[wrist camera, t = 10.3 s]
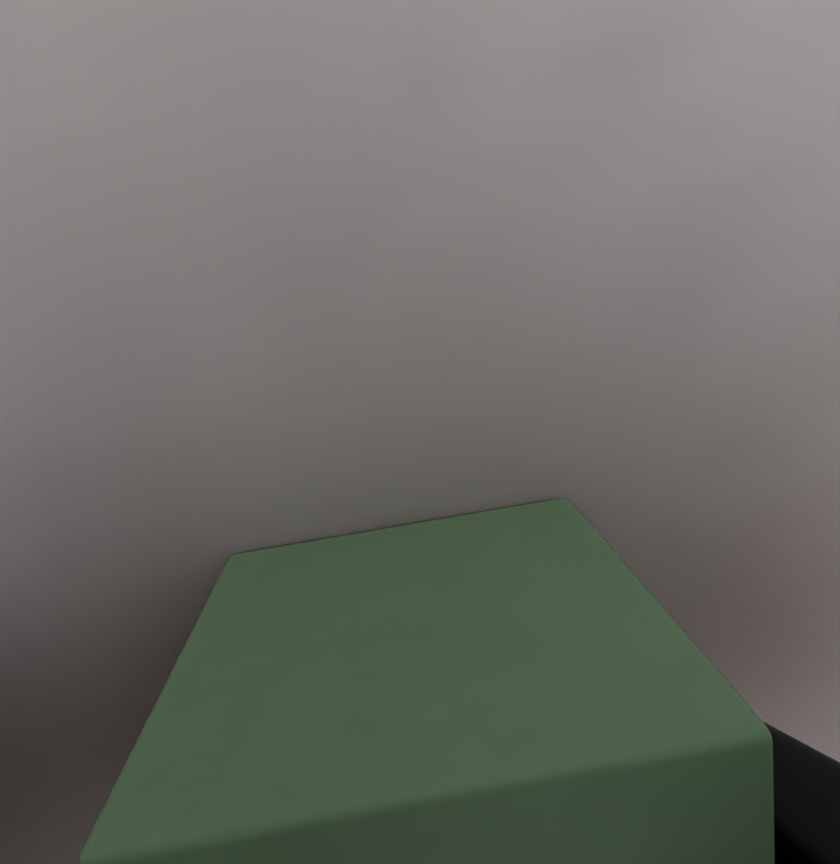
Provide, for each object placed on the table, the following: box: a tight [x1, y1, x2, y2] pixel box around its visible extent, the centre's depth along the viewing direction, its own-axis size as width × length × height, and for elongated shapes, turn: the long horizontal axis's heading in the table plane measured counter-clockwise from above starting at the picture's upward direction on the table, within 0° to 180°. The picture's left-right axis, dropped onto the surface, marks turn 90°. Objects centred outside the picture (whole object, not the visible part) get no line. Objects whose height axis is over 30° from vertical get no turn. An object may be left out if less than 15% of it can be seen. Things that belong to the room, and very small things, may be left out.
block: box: [78, 498, 775, 864], centre depth 7 cm, size 4×4×4 cm
